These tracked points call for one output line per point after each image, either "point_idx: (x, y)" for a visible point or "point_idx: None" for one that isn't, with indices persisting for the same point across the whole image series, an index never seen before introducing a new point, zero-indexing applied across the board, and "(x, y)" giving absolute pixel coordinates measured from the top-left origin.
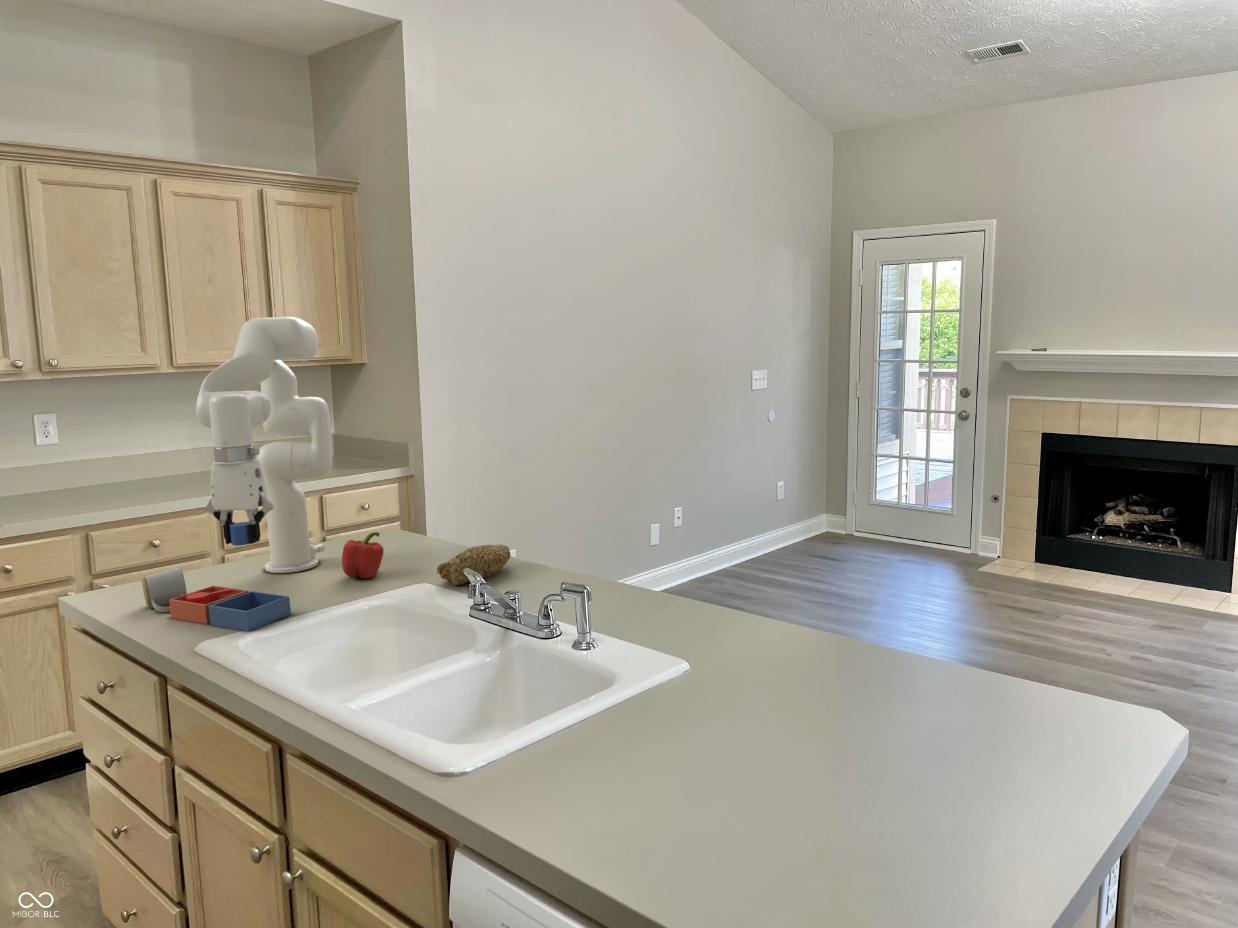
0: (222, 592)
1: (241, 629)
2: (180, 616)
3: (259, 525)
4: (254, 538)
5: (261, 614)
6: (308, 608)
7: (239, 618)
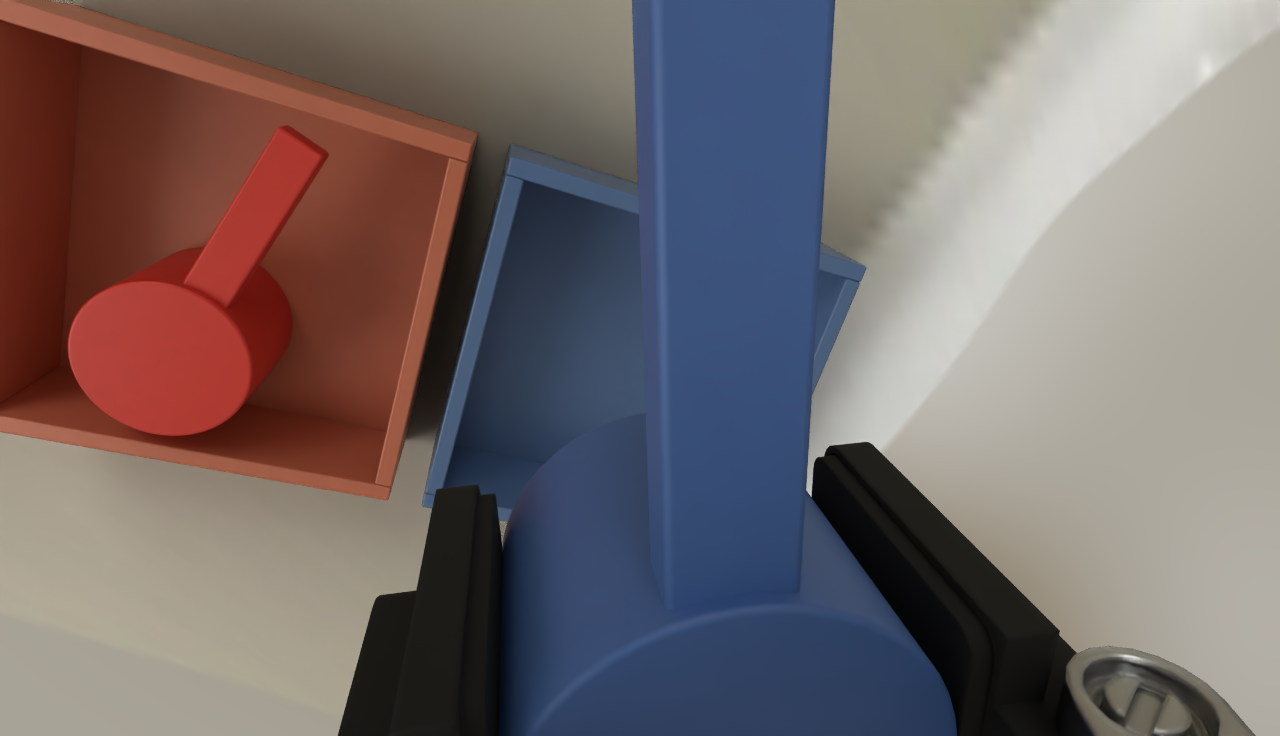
0: (284, 223)
1: None
2: None
3: (1064, 643)
4: None
5: None
6: (872, 110)
7: None
